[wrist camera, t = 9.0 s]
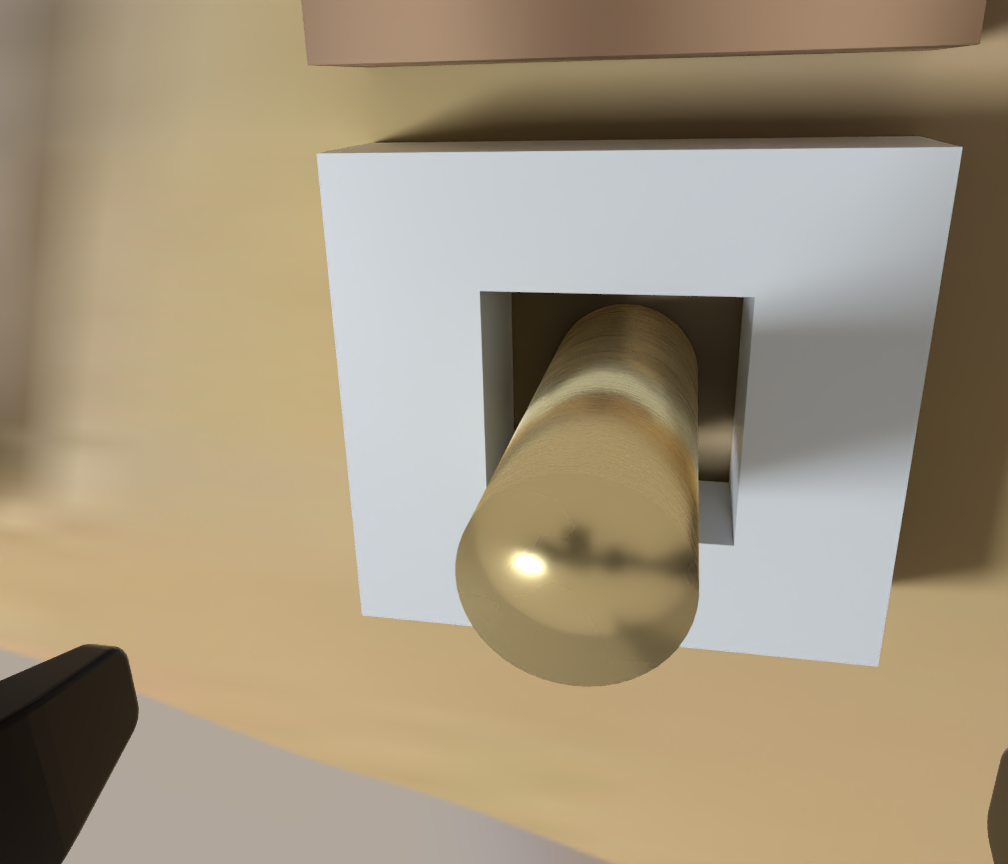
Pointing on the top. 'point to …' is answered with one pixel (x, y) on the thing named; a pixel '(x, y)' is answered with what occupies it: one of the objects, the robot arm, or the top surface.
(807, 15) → the mount
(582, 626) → the pin
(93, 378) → the top surface
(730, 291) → the socket
